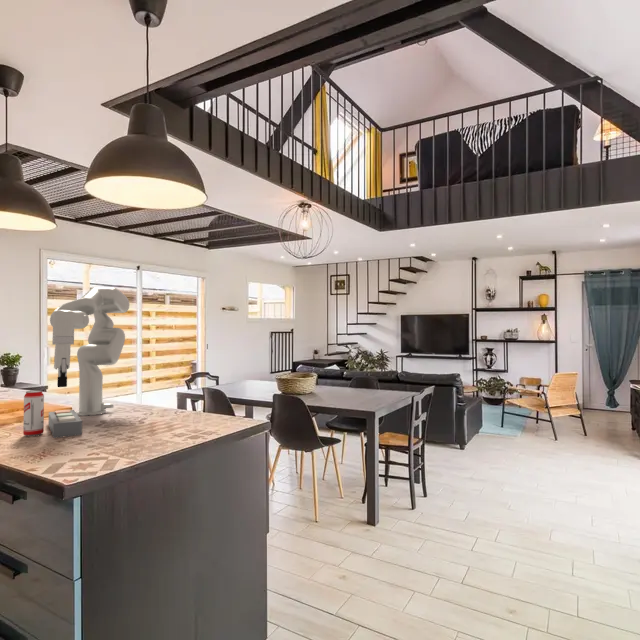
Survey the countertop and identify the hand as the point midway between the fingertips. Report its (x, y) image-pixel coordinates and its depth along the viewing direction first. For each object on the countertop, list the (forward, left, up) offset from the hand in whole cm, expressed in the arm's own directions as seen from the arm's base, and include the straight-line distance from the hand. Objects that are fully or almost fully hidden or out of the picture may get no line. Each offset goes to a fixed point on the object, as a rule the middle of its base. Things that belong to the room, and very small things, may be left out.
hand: (62, 386), depth 180 cm
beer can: (+10, +12, -16) cm, 22 cm away
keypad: (0, +7, -16) cm, 17 cm away
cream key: (0, +15, -12) cm, 20 cm away
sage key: (0, +7, -13) cm, 15 cm away
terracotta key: (0, -1, -13) cm, 12 cm away
